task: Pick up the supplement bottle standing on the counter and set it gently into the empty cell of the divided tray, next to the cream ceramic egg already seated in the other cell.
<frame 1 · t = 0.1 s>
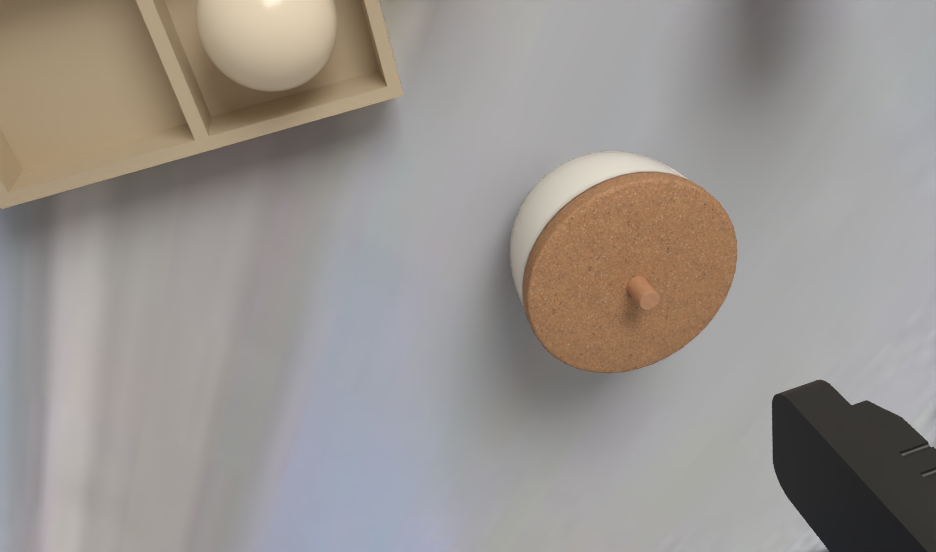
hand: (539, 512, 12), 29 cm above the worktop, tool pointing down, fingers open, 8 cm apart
lidded jar: (577, 212, 44), on the worktop
egg: (267, 6, 34), point 1 cm above the worktop, touching divided tray
divided tray: (170, 29, 35), on the worktop
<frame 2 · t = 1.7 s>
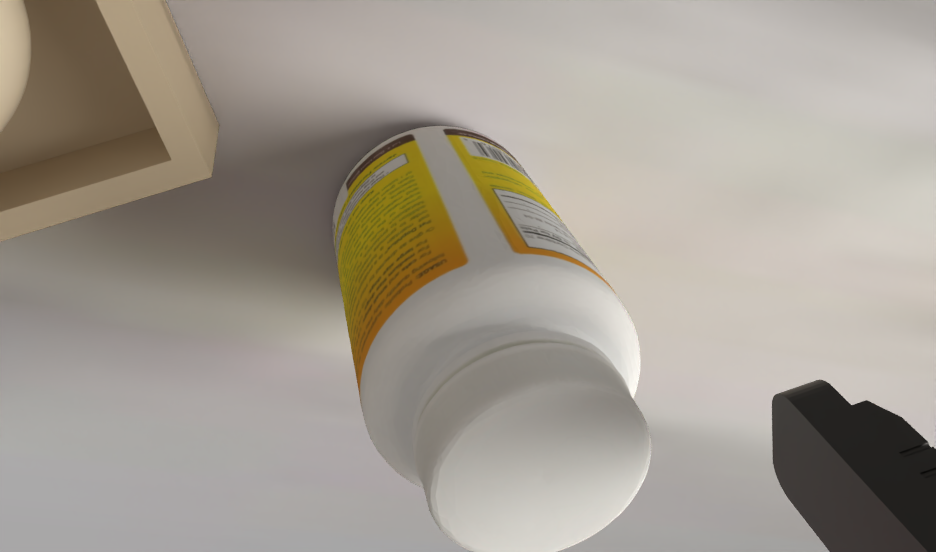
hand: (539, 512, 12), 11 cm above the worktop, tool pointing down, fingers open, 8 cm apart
supplement bottle: (431, 211, 22), on the worktop
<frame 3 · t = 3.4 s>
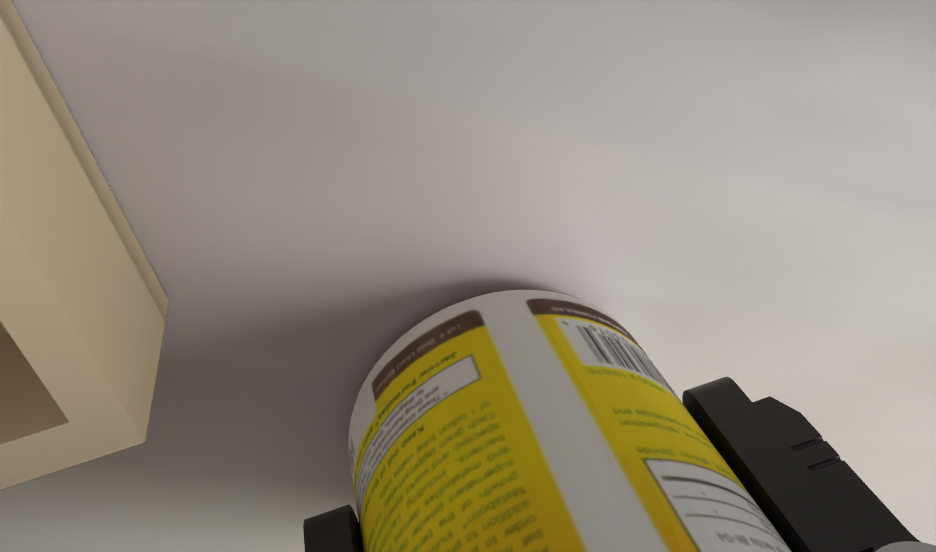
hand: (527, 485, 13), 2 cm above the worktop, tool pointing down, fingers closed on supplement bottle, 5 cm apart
supplement bottle: (494, 398, 15), on the worktop, touching gripper
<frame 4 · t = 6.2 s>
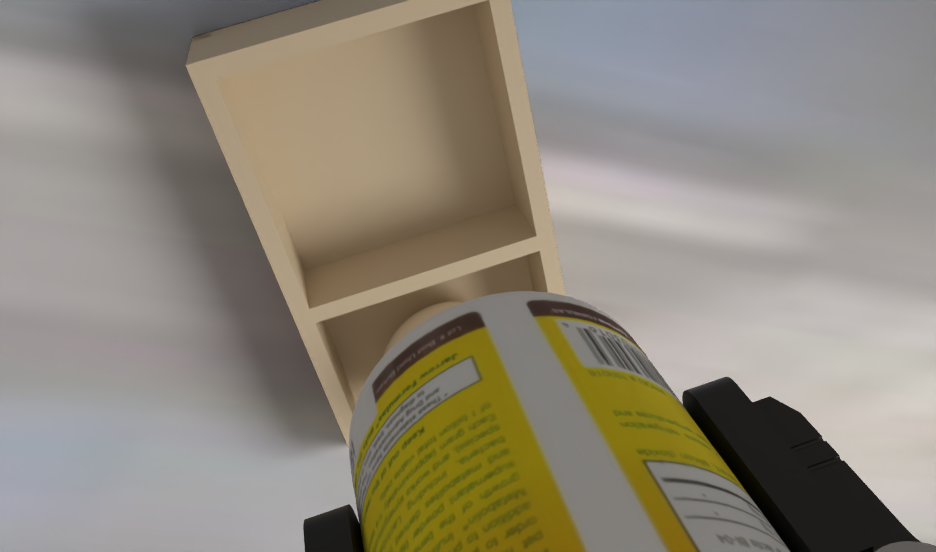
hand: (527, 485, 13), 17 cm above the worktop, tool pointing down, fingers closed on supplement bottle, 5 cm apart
egg: (440, 335, 31), point 1 cm above the worktop, touching divided tray
divided tray: (410, 236, 29), on the worktop
supplement bottle: (494, 399, 15), point 15 cm above the worktop, touching gripper
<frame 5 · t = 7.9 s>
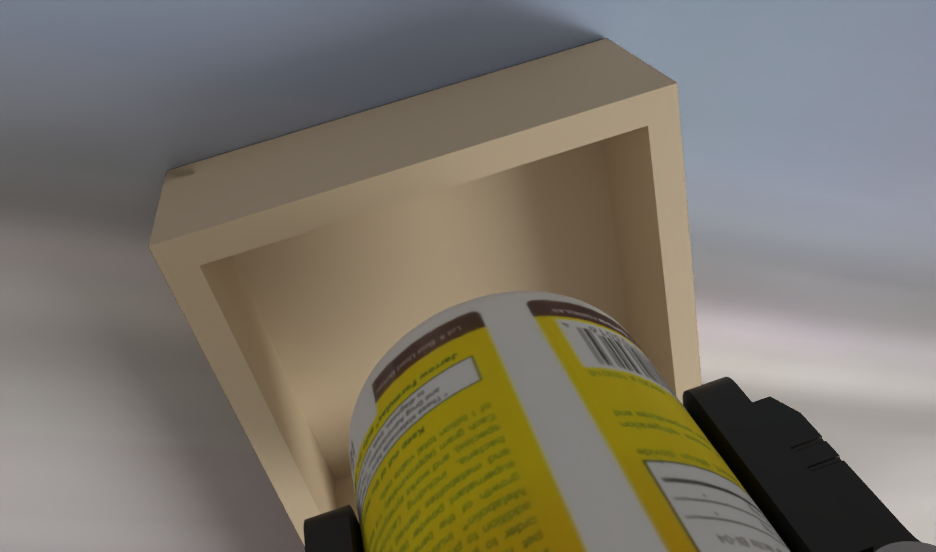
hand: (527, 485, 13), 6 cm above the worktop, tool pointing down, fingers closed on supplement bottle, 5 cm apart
divided tray: (484, 421, 21), on the worktop
supplement bottle: (494, 399, 15), point 4 cm above the worktop, touching gripper
when the fingers open (4 cm above the worktop, at t = 9.3 s): supplement bottle drops 2 cm, resting on divided tray.
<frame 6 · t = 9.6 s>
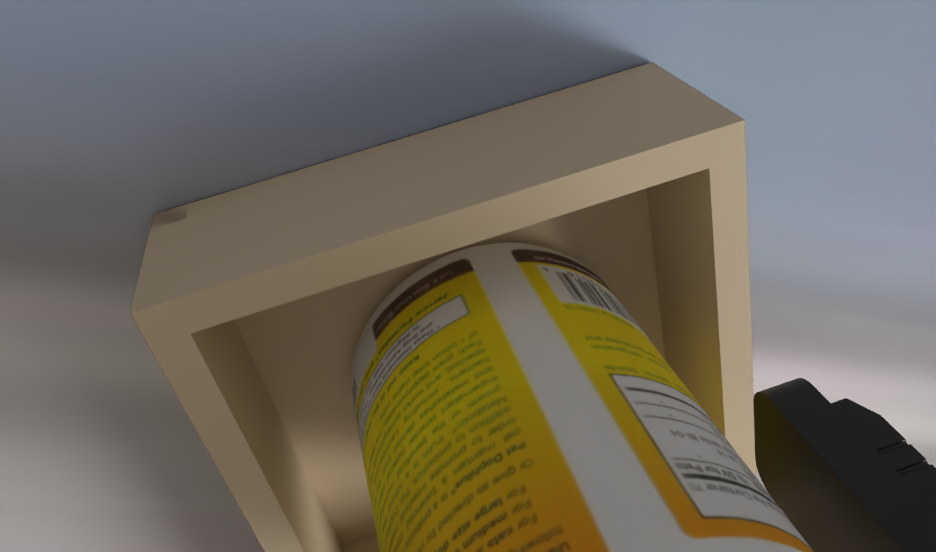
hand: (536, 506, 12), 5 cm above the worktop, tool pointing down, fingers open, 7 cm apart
divided tray: (506, 477, 19), on the worktop
supplement bottle: (483, 346, 16), resting on divided tray
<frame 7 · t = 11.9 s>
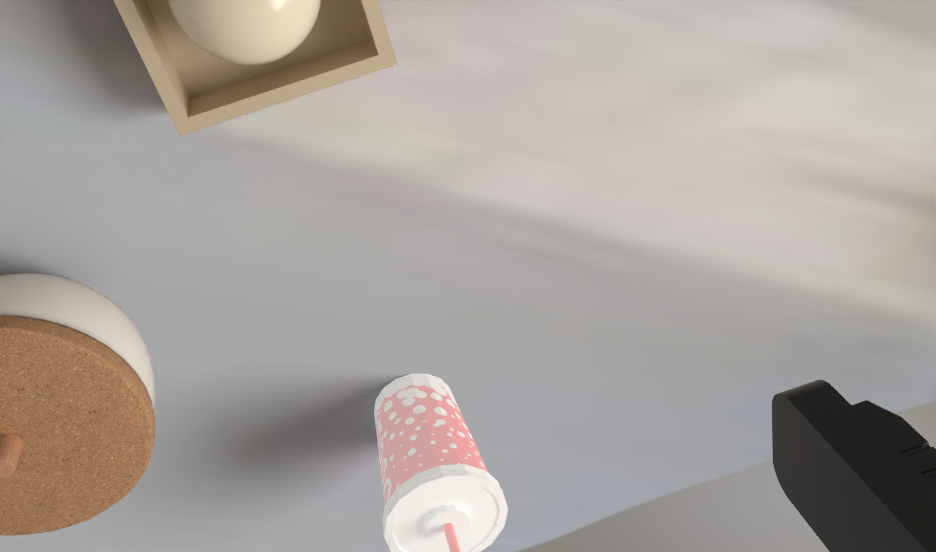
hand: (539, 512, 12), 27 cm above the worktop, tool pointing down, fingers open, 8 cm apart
lidded jar: (49, 331, 38), on the worktop
beverage cup: (413, 403, 46), on the worktop
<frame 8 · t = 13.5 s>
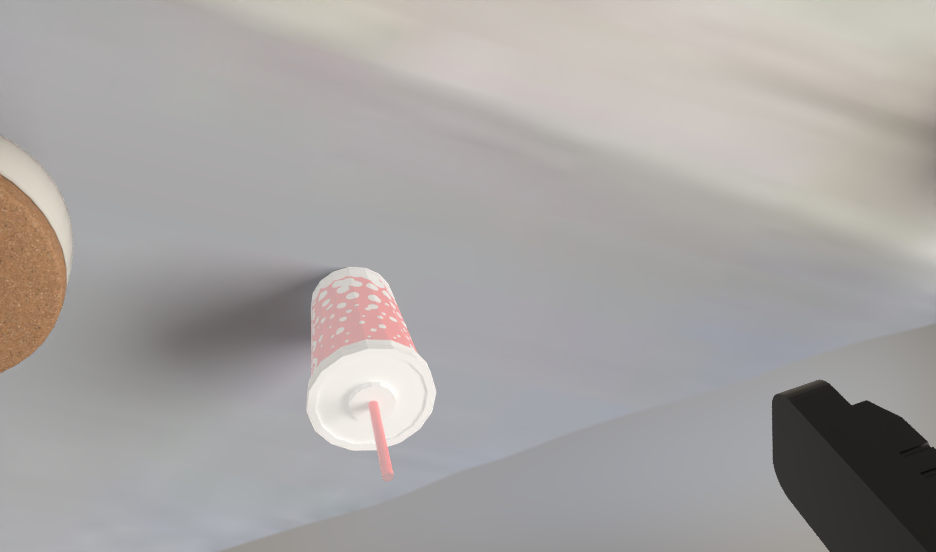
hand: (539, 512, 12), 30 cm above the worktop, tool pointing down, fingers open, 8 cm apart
beverage cup: (351, 300, 45), on the worktop
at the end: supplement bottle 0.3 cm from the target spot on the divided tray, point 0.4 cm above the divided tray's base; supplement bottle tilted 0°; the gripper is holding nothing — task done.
